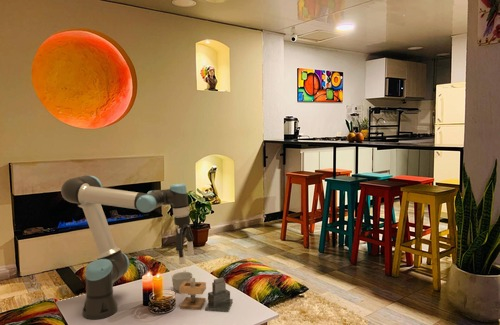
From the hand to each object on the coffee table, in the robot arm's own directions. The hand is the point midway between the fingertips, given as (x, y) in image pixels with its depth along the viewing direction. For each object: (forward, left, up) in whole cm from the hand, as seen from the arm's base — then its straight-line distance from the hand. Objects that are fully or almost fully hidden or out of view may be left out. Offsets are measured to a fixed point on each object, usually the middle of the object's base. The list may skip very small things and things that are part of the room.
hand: (187, 259), depth 187 cm
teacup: (-8, +19, -23) cm, 31 cm away
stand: (+3, 0, -23) cm, 23 cm away
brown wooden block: (+3, 0, -16) cm, 16 cm away
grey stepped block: (+16, 0, -23) cm, 28 cm away
